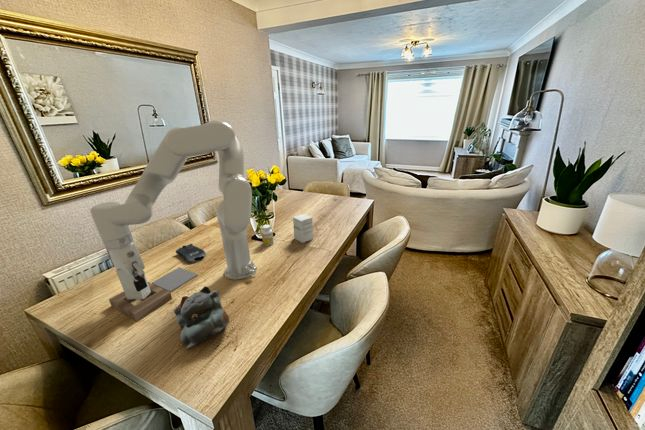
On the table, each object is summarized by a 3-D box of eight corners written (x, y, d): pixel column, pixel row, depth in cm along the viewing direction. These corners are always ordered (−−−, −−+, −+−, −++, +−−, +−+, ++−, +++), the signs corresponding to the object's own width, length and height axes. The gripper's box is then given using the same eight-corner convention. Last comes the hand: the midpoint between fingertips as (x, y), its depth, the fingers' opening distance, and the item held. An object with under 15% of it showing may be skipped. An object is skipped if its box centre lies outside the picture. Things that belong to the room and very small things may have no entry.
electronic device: (175, 259, 121) (190, 265, 112) (173, 248, 120) (188, 253, 111) (194, 253, 128) (210, 258, 120) (192, 242, 127) (208, 247, 118)
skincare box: (151, 292, 91) (142, 263, 87) (143, 300, 87) (133, 270, 83) (135, 291, 91) (125, 262, 87) (125, 300, 87) (115, 270, 83)
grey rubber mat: (197, 275, 105) (197, 274, 105) (170, 292, 96) (170, 291, 95) (179, 268, 111) (179, 267, 110) (151, 283, 101) (151, 282, 101)
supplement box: (293, 238, 134) (292, 216, 130) (305, 234, 139) (303, 213, 134) (302, 243, 129) (300, 221, 124) (313, 239, 134) (312, 217, 129)
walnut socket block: (172, 298, 92) (170, 292, 91) (137, 321, 82) (134, 314, 81) (146, 286, 99) (144, 280, 98) (111, 306, 89) (108, 299, 88)
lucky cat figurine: (174, 355, 70) (156, 308, 70) (193, 335, 82) (178, 295, 82) (225, 334, 71) (207, 288, 71) (237, 318, 83) (222, 278, 83)
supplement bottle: (263, 241, 133) (261, 224, 129) (274, 240, 133) (272, 223, 129) (262, 246, 128) (260, 228, 124) (273, 245, 128) (271, 228, 124)
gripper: (146, 240, 80) (161, 286, 87) (117, 231, 88) (133, 273, 95) (120, 251, 74) (138, 300, 81) (91, 240, 82) (110, 285, 88)
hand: (135, 285), depth 88 cm, fingers closed on skincare box, 7 cm apart
